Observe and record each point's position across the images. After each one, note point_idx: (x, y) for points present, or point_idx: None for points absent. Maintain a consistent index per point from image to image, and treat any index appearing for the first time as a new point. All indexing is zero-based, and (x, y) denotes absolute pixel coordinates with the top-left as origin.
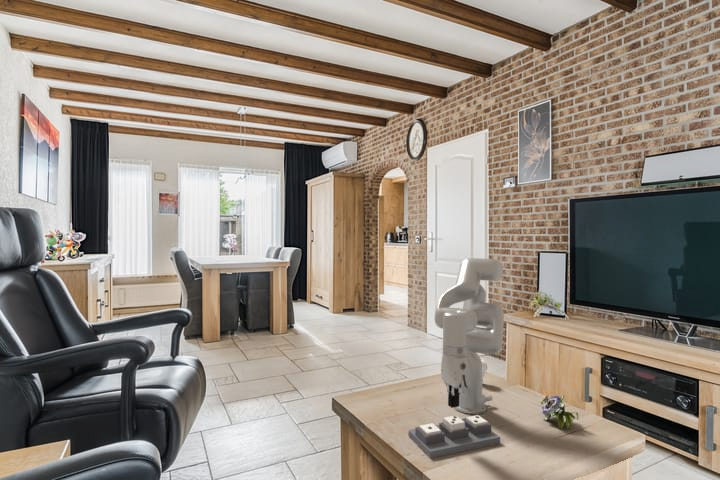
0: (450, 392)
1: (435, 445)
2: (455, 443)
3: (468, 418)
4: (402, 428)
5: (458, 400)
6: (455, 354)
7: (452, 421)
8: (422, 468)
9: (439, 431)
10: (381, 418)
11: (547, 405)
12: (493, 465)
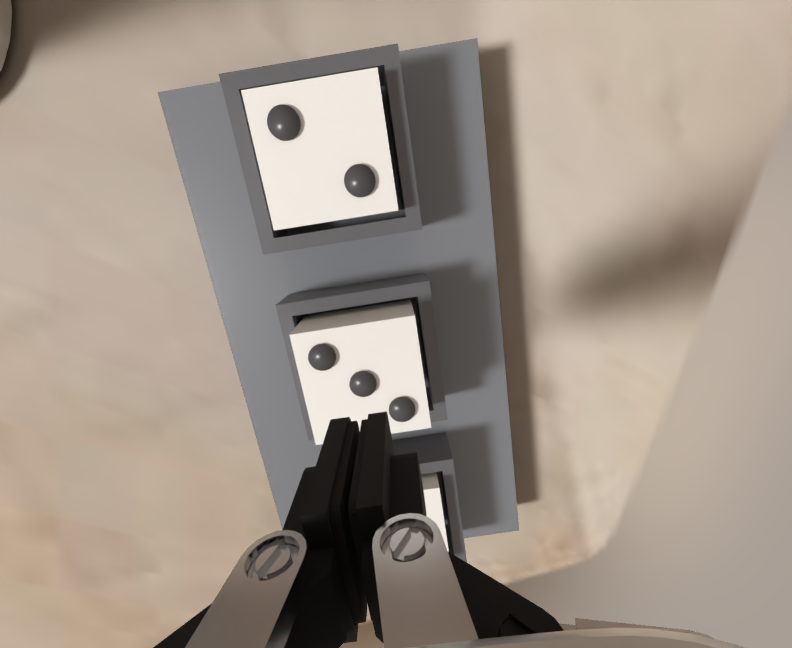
0: (331, 635)
1: (473, 490)
2: (480, 385)
3: (298, 218)
4: (215, 541)
5: (387, 456)
6: None
7: (394, 408)
8: (569, 555)
9: (439, 491)
10: (97, 605)
11: None
12: (660, 244)
